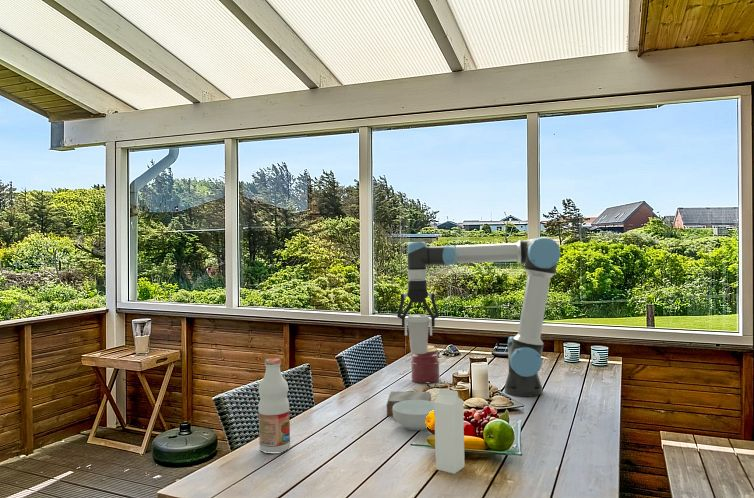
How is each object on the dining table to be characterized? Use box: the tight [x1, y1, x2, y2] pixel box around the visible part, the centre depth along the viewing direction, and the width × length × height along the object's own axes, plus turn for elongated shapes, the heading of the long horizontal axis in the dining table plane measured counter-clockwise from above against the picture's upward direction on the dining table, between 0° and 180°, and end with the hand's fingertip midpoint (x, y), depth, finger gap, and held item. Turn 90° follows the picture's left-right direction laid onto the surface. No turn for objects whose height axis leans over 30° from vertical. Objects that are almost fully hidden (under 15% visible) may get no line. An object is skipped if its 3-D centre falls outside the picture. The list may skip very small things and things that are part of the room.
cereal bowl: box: [392, 400, 434, 431], centre depth 190 cm, size 17×17×7 cm
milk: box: [433, 388, 466, 475], centre depth 154 cm, size 6×6×22 cm
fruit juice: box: [258, 357, 291, 453], centre depth 172 cm, size 9×9×28 cm
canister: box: [410, 343, 440, 384], centre depth 253 cm, size 13×13×18 cm
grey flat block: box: [386, 391, 432, 417], centre depth 209 cm, size 16×14×5 cm
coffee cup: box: [406, 313, 430, 354], centre depth 224 cm, size 10×10×15 cm
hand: (418, 334), depth 224 cm, fingers closed on coffee cup, 9 cm apart
